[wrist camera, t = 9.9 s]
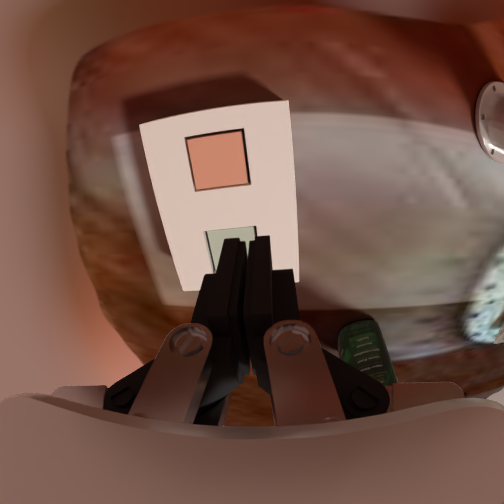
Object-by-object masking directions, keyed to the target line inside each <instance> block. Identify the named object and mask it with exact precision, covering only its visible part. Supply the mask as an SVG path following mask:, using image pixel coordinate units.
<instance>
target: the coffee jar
mask: <svg viewBox="0 0 504 504" xmlns="http://www.w3.org/2000/svg"><path fill="white" fill-rule="evenodd" d="M337 344H338V352H339V356H340V359H341V360H343V361H344V362H346V363H348V364H350V365H351V366H353V367H355V368H356V369H358V370H360V371H362V372H363V373H365V374H367V375H368V376H370V377H372V378H374V379H375V380H377V381H379V382H380V383H381V384H383V385H384V386H392V385H393V383H398V380H397V377H396V374H395V371H394V368H393V365H392V362H391V359H390V356H389V353H388V350H387V347H386V344H385V341H384V338H383V335H382V333H381V330H380V327H379V325H378V323H377V322H375V321H373V320H363V321H357V322H354V323H352V324H350V325H347V326H346V327H344V328H343V329H341V331H340V332H339V335H338V342H337Z"/></svg>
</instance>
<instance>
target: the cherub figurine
mask: <svg viewBox="0 0 504 504" xmlns="http://www.w3.org/2000/svg"><path fill="white" fill-rule="evenodd" d="M494 342H495V343H502V342H504V323H503V325H502V327H501V329H500V330H499V333H498V335H497V336H496V338H495V341H494ZM495 343H494V344H495Z"/></svg>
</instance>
